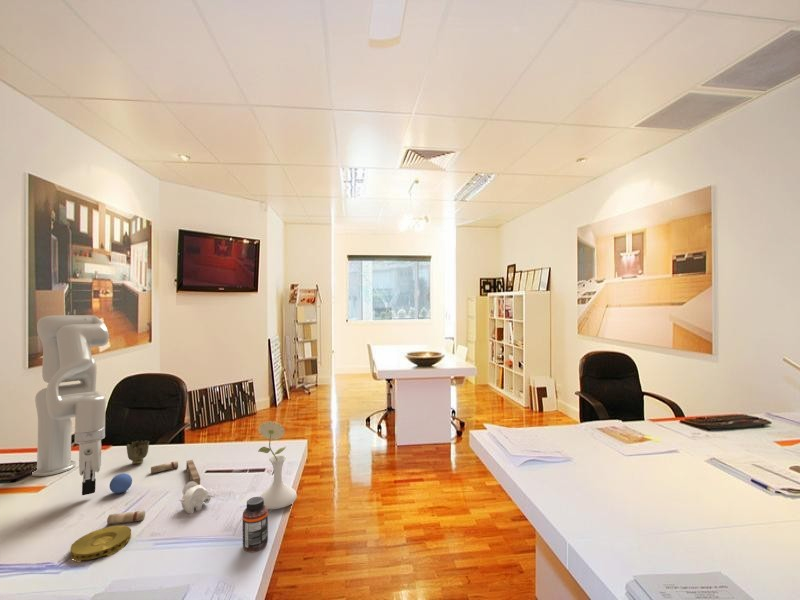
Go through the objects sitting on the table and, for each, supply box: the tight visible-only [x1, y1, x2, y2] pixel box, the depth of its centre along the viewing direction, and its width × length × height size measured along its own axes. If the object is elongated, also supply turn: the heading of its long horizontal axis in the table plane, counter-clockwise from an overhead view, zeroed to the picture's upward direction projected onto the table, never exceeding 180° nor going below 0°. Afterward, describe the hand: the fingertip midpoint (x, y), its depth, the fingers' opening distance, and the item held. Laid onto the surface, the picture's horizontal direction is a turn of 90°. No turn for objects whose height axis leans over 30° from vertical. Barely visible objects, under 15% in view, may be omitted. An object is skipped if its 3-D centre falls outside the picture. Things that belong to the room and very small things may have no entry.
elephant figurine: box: [178, 480, 215, 514], centre depth 113 cm, size 8×10×7 cm
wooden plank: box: [185, 459, 201, 485], centre depth 135 cm, size 20×2×3 cm, turn 36°
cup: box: [125, 439, 150, 466], centre depth 148 cm, size 8×7×8 cm
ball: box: [109, 472, 133, 494], centre depth 124 cm, size 6×6×6 cm
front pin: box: [106, 510, 146, 525], centre depth 106 cm, size 2×2×8 cm
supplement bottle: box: [242, 496, 269, 553], centre depth 94 cm, size 6×6×11 cm
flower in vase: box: [257, 420, 298, 510], centre depth 116 cm, size 13×11×25 cm
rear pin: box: [150, 460, 179, 474], centre depth 141 cm, size 2×2×8 cm
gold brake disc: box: [69, 525, 132, 562], centre depth 95 cm, size 12×12×2 cm
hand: (88, 493), depth 120 cm, fingers closed
